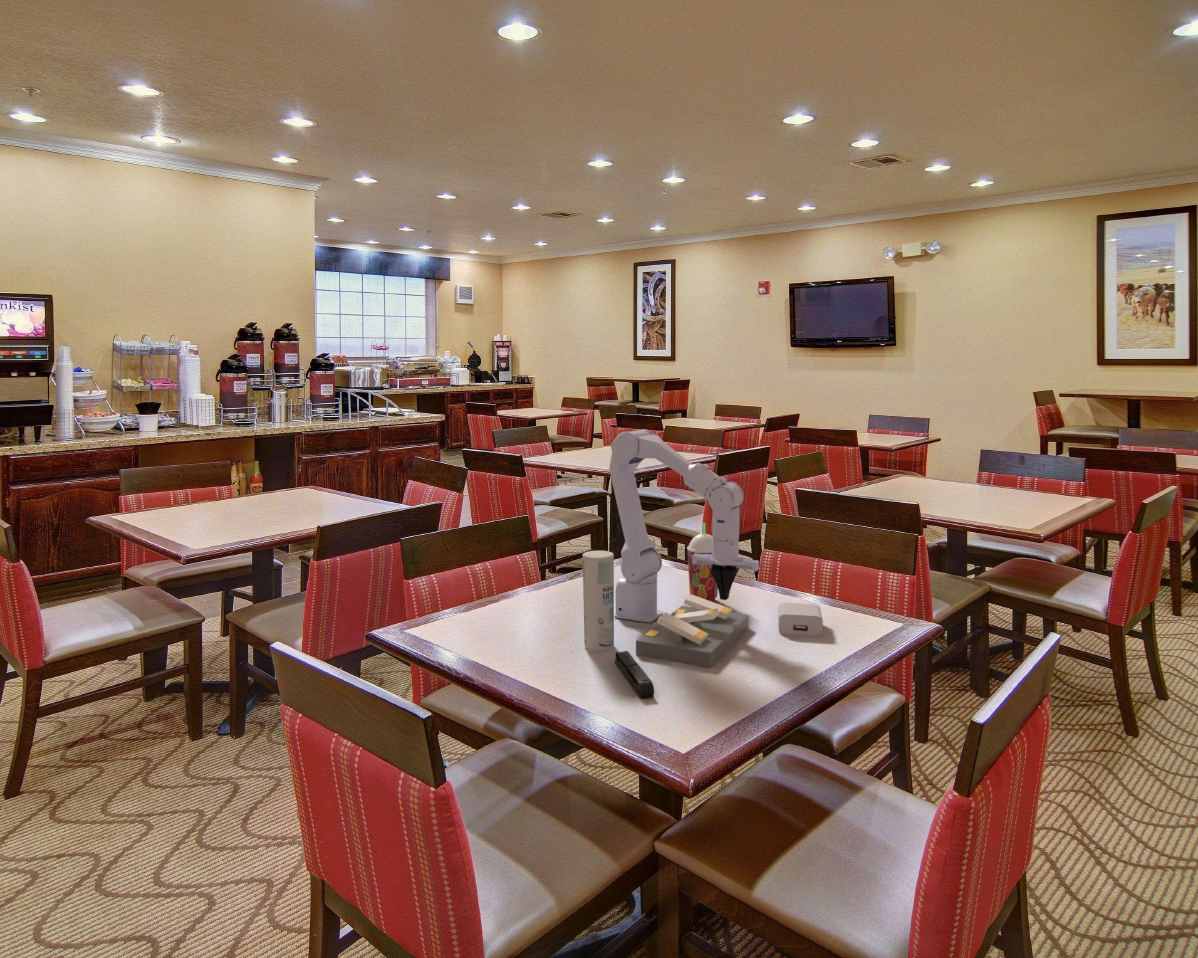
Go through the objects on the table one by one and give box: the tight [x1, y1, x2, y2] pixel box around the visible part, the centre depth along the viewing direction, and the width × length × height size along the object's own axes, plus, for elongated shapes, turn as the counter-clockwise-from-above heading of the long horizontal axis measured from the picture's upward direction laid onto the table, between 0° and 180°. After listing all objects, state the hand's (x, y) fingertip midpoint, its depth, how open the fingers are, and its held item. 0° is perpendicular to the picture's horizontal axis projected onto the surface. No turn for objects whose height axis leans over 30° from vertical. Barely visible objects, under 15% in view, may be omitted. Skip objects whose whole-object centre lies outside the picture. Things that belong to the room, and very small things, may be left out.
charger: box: [777, 602, 824, 637], centre depth 172 cm, size 5×9×15 cm
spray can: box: [582, 550, 615, 652], centre depth 159 cm, size 6×6×20 cm
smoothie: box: [686, 522, 719, 603], centre depth 190 cm, size 8×8×20 cm
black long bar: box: [614, 650, 655, 699], centre depth 142 cm, size 18×3×3 cm, turn 14°
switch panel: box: [635, 605, 750, 668], centre depth 162 cm, size 16×26×4 cm, turn 153°
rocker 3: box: [683, 594, 733, 619], centre depth 169 cm, size 10×4×1 cm, turn 64°
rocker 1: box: [656, 611, 708, 645], centre depth 155 cm, size 10×4×1 cm, turn 64°
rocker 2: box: [674, 609, 719, 623], centre depth 162 cm, size 10×4×1 cm, turn 62°
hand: (724, 598), depth 167 cm, fingers closed
